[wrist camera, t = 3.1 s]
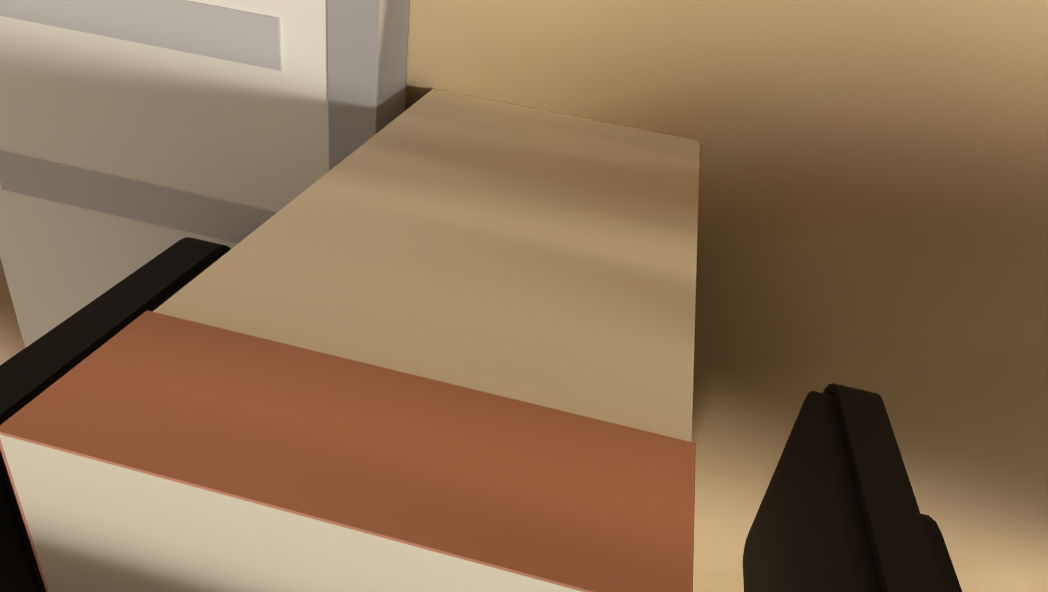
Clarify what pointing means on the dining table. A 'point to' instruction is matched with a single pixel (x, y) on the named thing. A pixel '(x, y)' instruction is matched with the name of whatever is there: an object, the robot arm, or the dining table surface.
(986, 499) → the dining table surface
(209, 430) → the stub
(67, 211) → the cream slab
